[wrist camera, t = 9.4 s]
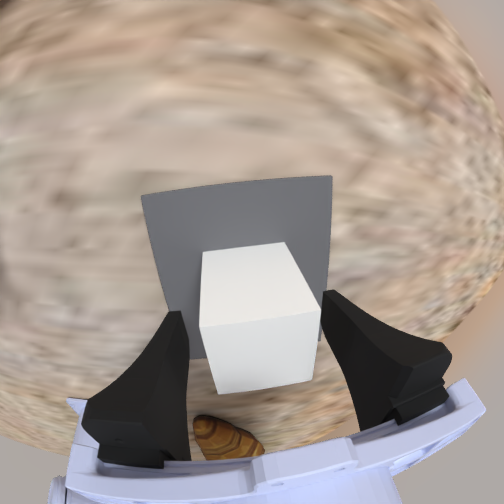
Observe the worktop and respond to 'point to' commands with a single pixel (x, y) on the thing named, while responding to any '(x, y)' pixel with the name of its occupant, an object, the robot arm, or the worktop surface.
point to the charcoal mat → (236, 234)
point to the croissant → (224, 440)
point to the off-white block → (257, 318)
